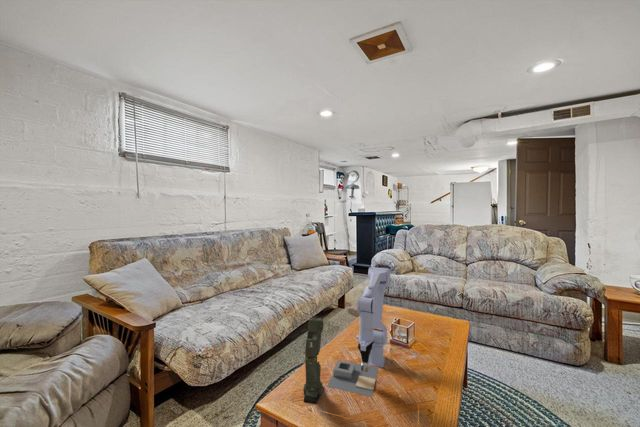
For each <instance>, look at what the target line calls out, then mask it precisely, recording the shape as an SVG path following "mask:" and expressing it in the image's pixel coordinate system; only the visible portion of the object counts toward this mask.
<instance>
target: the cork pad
mask: <svg viewBox="0 0 640 427" xmlns="http://www.w3.org/2000/svg"><path fill="white" fill-rule="evenodd" d="M376 380H377V378H376V379H373V378H369V377H364V376H359V377H358V380H357V383H356V387H358V388H362V389H367V390H371V391H373V392H374V390H373V389H375V384H376Z"/></svg>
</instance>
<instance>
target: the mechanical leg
mask: <svg viewBox="0 0 640 427" xmlns="http://www.w3.org/2000/svg"><path fill="white" fill-rule="evenodd" d="M323 320H324V318H322V317H320V316H316V315H315V316H314V315H312V316H311V317H309V319H308V327H307V337H306V339H305V340H306V341H305V349H304V353H305V354H304V356H305V358H304V365H305V366H304V367H305V383H304V385H303V394H304V397H303V403H308V404H314V405H315V404H317V403H318V400H319V399H320V397H322V396H323V395H322V394H323V382H322V380H321V372H322V371H321V368H322V366H321V364H320V361H318V355H319V353H320V351H321V341H322V333H323V330H324V324H325V323H324V321H323Z"/></svg>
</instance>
